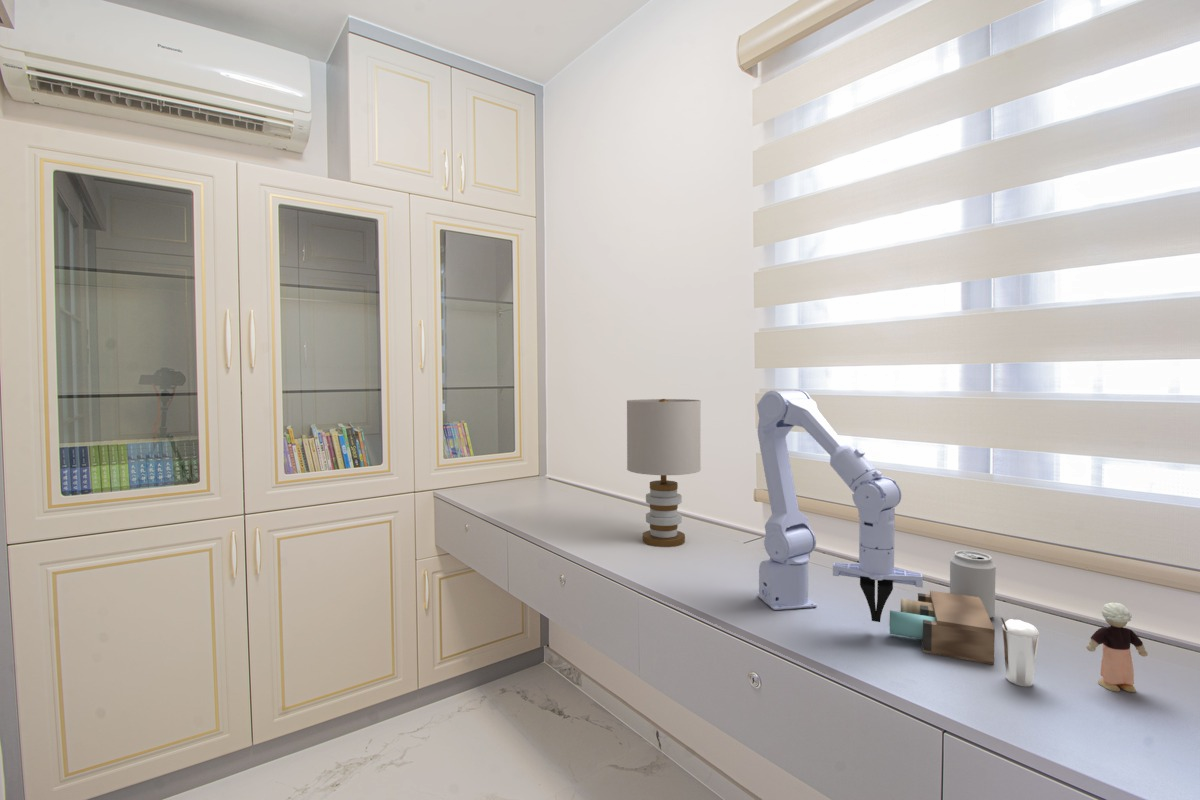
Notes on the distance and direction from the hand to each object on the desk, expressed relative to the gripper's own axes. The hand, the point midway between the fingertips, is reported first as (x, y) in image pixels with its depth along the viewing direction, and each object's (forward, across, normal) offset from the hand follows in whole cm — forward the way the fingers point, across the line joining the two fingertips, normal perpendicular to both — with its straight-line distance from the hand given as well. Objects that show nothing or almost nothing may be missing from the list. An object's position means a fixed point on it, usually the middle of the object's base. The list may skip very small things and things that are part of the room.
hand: (875, 619), depth 103 cm
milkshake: (+3, +20, -8) cm, 21 cm away
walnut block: (+3, +12, +4) cm, 13 cm away
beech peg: (+2, +9, +7) cm, 12 cm away
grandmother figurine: (+3, +32, -4) cm, 33 cm away
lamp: (+3, -55, +40) cm, 69 cm away
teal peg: (+2, +7, 0) cm, 7 cm away
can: (+3, +17, +18) cm, 25 cm away
